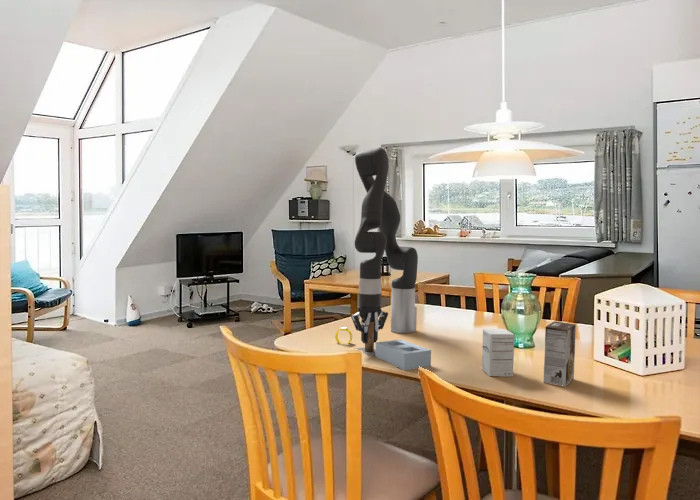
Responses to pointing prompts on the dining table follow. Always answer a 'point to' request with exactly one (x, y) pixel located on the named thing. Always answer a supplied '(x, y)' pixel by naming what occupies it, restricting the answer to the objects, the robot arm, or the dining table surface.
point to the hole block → (403, 354)
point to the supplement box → (498, 352)
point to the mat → (367, 352)
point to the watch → (343, 330)
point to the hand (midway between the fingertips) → (369, 342)
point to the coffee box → (559, 353)
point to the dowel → (370, 338)
